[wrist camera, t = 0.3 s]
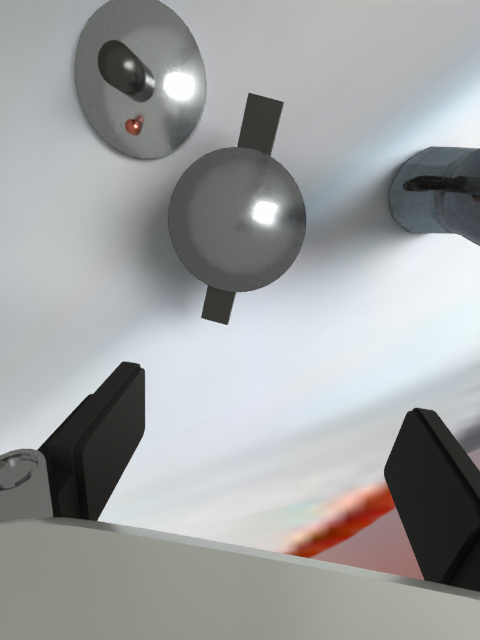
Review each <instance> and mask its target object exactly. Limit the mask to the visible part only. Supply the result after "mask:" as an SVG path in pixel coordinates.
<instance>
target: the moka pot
mask: <svg viewBox="0 0 480 640" xmlns="http://www.w3.org/2000/svg"><path fill="white" fill-rule="evenodd" d="M389 204H390V210H391V213H392V216H393V218H394V219H395V220H396V221H397V222H398V223H399V224H400V225H401V226H402V227H403V228H404V229H406V231H408V232H415V233H454V234H458V235H461V236H463V237H465V238H466V239H468V240H470V241H471V242H473V243H475V244H477V245H479V246H480V148H479V149H478V148H460V147H429V148H427V149H425V150H423V151H421V152H420V153H418V154H416V155H415V156H413V157H412V158H411V159H409V160H408V161H407V162H405V163H404V164H403V166H402V167H401V169H400V170H399V172H398V174H397V175H396V177H395V179H394V181H393V183H392V185H391V187H390V188H389Z"/></svg>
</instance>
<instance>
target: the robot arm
mask: <svg viewBox="0 0 480 640" xmlns="http://www.w3.org/2000/svg"><path fill="white" fill-rule="evenodd" d="M144 430H145V370H144V369H143V368H141V367H140V364H137V363H131V362H125V361H124V362H122V363H121V364H120V365H119V366H118V367H117V368H116V369H115V370H114V372H113V373H112V374H111V375H110V376H109V377H108V378H107V379H106V380H105V381H104V383H103V384H102V385H101V386H100V387H99V388H98V389H97V390H96V391H95V393H94V394H90V395H88V396H87V397H86V398H85V399H84V400H83V401H82V402H81V403H80V404H79V406H78V407H77V408H76V409H75V410H74V411H73V412H72V413H71V414H70V415H69V416H68V417H67V419H66V420H65V421H64V422H63V423H62V424H61V425H60V426H59V427H58V428H57V429H56V430H55V431H54V433H53V434H52V435H51V436H50V437H49V438H48V439H47V440H46V441H45V442H44V443H43V444H42V446H41V447H40V448H39V449H38V450H34V449H19V450H14V451H10V452H8V453H5V454H3V455H1V456H0V640H480V471H479V470H478V468H477V467H476V466H475V464H474V463H473V462H472V460H471V459H470V458H469V456H468V455H467V453H466V452H465V451H464V449H463V448H462V447H461V445H460V444H459V443H458V441H457V440H456V439H455V437H454V436H453V435H452V433H451V432H450V431H449V429H448V428H447V427H446V425H445V424H444V423H443V421H442V420H441V418H440V417H439V416H438V414H437V413H436V412H435V411H433V410H427V409H421V408H414V409H413V410H412V411H409V412H407V414H406V416H405V419H404V421H403V424H402V426H401V429H400V431H399V433H398V436H397V438H396V441H395V443H394V446H393V448H392V451H391V453H390V455H389V458H388V460H387V463H386V465H385V468H384V477H385V480H386V483H387V485H388V488H389V490H390V493H391V495H392V498H393V500H394V503H395V506H396V508H397V511H398V513H399V516H400V518H401V521H402V524H403V526H404V528H405V531H406V534H407V536H408V539H409V541H410V544H411V547H412V549H413V551H414V554H415V557H416V559H417V562H418V564H419V567H420V569H421V572H422V575H423V577H424V580H419V579H414V578H409V577H404V576H398V575H392V574H388V573H382V572H377V571H372V570H367V569H362V568H357V567H351V566H346V565H340V564H335V563H330V562H325V561H320V560H314V559H309V558H303V557H298V556H293V555H287V554H282V553H276V552H271V551H266V550H260V549H255V548H249V547H244V546H238V545H233V544H227V543H222V542H216V541H211V540H205V539H200V538H194V537H188V536H183V535H177V534H172V533H166V532H160V531H155V530H149V529H143V528H137V527H131V526H124V525H118V524H112V523H106V522H99V521H97V520H98V518H99V516H100V514H101V513H102V511H103V509H104V507H105V505H106V503H107V501H108V500H109V498H110V496H111V494H112V492H113V490H114V489H115V487H116V485H117V483H118V481H119V479H120V477H121V476H122V474H123V472H124V470H125V468H126V466H127V465H128V463H129V461H130V459H131V457H132V455H133V453H134V452H135V450H136V448H137V446H138V444H139V442H140V441H141V439H142V437H143V434H144Z"/></svg>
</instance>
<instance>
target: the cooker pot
mask: <svg viewBox="0 0 480 640" xmlns="http://www.w3.org/2000/svg"><path fill="white" fill-rule="evenodd" d="M283 103H284V102H281V101H278V100H274V99H270V98H266V97H263V96H259V95H255V94H251V93H249V94H248V99H247V103H246V108H245V113H244V118H243V122H242V127H241V132H240V136H239V141H238V147H231V148H223V149H220V150H216V151H213V152H211V153H208V154H206V155H204V156H203V157H201V158H200V159H198V160H197V161H195V162H194V163H193V164H192V165H191V166H190V167H189V168H188V169H187V170H186V171H185V172H184V173H183V175H182V176H181V178H180V179H179V181H178V183H177V185H176V187H175V189H174V191H173V194H172V197H171V201H170V205H169V214H168V224H169V232H170V237H171V240H172V244H173V246H174V249H175V251H176V253H177V255H178V257H179V258H180V260H181V261H182V263H183V264H184V266H185V267H186V268H187V269H188V270H189V271H190V272H191V273H192V274H193V275H194V276H195V277H197V278H198V279H199V280H201V281H202V282H204V283H205V284H207V285H208V288H207V293H206V297H205V302H204V307H203V312H202V316H201V318H203V319H207V320H211V321H214V322H218V323H222V324H226V325H228V322H229V319H230V315H231V311H232V307H233V303H234V299H235V295H236V292H247V291H252V290H256V289H259V288H262V287H264V286H266V285H269V284H270V283H272V282H274V281H275V280H277V279H278V278H279V277H280V276H282V275H283V274H284V273H285V272H286V271H287V270H288V269H289V267H290V266H291V265H292V263H293V262H294V261H295V259H296V257H297V255H298V253H299V251H300V249H301V246H302V243H303V240H304V236H305V229H306V213H305V205H304V202H303V198H302V195H301V192H300V190H299V188H298V186H297V184H296V182H295V181H294V179H293V177H292V176H291V175H290V174H289V172H288V171H287V170H286V169H285V168H284V167H283V166H282V165H281V164H280V163H279V162H277V161H276V160H275V159H273V158H272V157H270V156H271V152H272V148H273V144H274V140H275V136H276V133H277V129H278V125H279V121H280V117H281V113H282V109H283Z"/></svg>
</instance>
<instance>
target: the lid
mask: <svg viewBox="0 0 480 640" xmlns="http://www.w3.org/2000/svg"><path fill="white" fill-rule="evenodd" d="M75 77H76V85H77V90H78V94H79V98H80V101H81V104H82V107H83V109H84V111H85V113H86V116H87V117H88V119H89V121H90V123H91V124H92V126H93V127H94V128H95V130H96V131H97V132H98V134H99V135H100V136H101V137H102V138H103V139H104V140H105V141H106V142H108V143H109V144H110V145H111V146H113V147H114V148H116V149H117V150H119V151H121V152H123V153H125V154H128V155H131V156H134V157H139V158H146V159H153V158H160V157H164V156H167V155H169V154H171V153H173V152H175V151H176V150H178V149H179V148H181V147H182V146H183V145H184V144H185V143H186V142H187V141H188V140H189V139H190V137H191V136H192V135H193V133H194V132H195V130H196V128H197V126H198V124H199V122H200V120H201V117H202V114H203V110H204V106H205V101H206V73H205V67H204V63H203V59H202V56H201V53H200V50H199V48H198V45H197V43H196V41H195V39H194V37H193V35H192V34H191V32H190V30H189V29H188V27H187V26H186V24H185V23H184V22H183V21H182V19H181V18H180V17H179V16H178V15H177V14H176V13H175V12H174V11H173V10H172V9H170V8H169V7H168V6H166V5H165V4H163V3H161V2H159V1H158V0H110V1H109V2H107V3H105V4H104V5H103V6H101V7H100V8H99V9H98V10H97V11H96V12H95V13H94V14H93V15H92V17H91V18H90V19H89V21H88V22H87V24H86V26H85V28H84V30H83V32H82V34H81V37H80V40H79V43H78V47H77V52H76V61H75Z"/></svg>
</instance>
